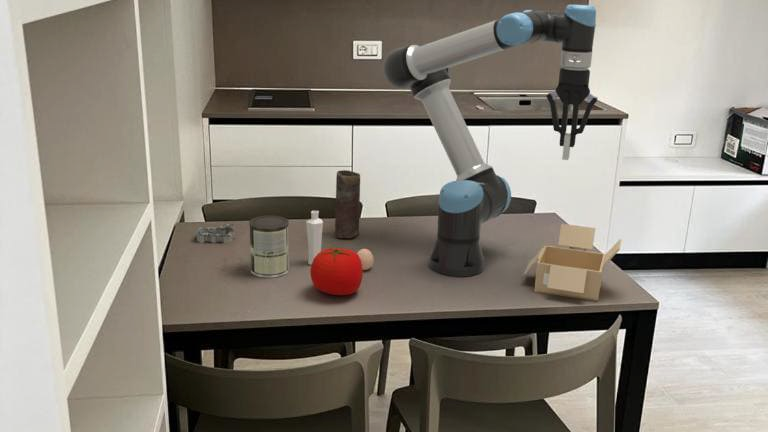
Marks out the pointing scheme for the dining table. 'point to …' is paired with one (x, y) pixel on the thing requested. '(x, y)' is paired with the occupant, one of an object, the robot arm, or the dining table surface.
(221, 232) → the egg carton
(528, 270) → the left flap
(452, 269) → the robot arm
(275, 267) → the coffee can
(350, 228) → the candle
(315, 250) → the perfume bottle
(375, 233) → the dining table surface
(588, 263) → the carton
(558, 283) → the front flap
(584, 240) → the back flap
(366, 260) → the egg
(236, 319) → the dining table surface
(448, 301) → the dining table surface
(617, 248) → the right flap
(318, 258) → the tomato
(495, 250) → the dining table surface
